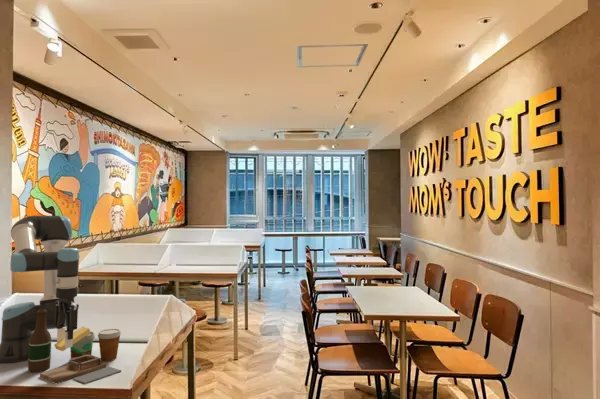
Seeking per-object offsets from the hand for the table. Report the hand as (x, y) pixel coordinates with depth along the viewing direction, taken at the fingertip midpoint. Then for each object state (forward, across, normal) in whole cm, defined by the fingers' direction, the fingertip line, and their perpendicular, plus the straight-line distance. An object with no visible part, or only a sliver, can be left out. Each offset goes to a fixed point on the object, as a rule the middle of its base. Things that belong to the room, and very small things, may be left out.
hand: (64, 346), depth 159 cm
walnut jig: (+11, 0, +4) cm, 12 cm away
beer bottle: (+12, -15, -2) cm, 19 cm away
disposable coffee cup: (+12, -3, +21) cm, 24 cm away
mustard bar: (-1, 0, +4) cm, 4 cm away
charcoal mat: (+11, +12, +7) cm, 18 cm away
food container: (+12, -13, +16) cm, 23 cm away
